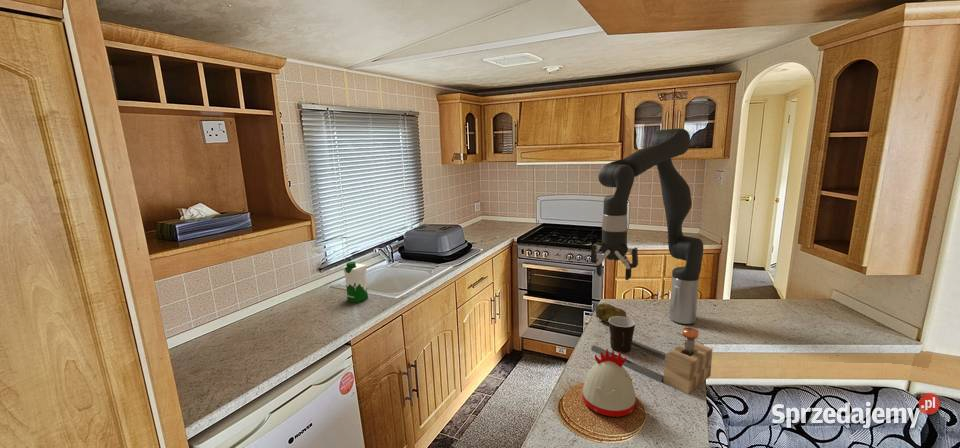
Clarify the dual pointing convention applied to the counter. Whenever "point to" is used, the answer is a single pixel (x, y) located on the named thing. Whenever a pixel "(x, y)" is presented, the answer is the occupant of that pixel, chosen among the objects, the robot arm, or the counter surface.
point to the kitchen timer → (609, 387)
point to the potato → (608, 312)
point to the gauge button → (690, 340)
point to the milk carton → (356, 282)
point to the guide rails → (636, 366)
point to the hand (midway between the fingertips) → (613, 277)
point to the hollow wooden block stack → (687, 367)
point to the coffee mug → (621, 333)
